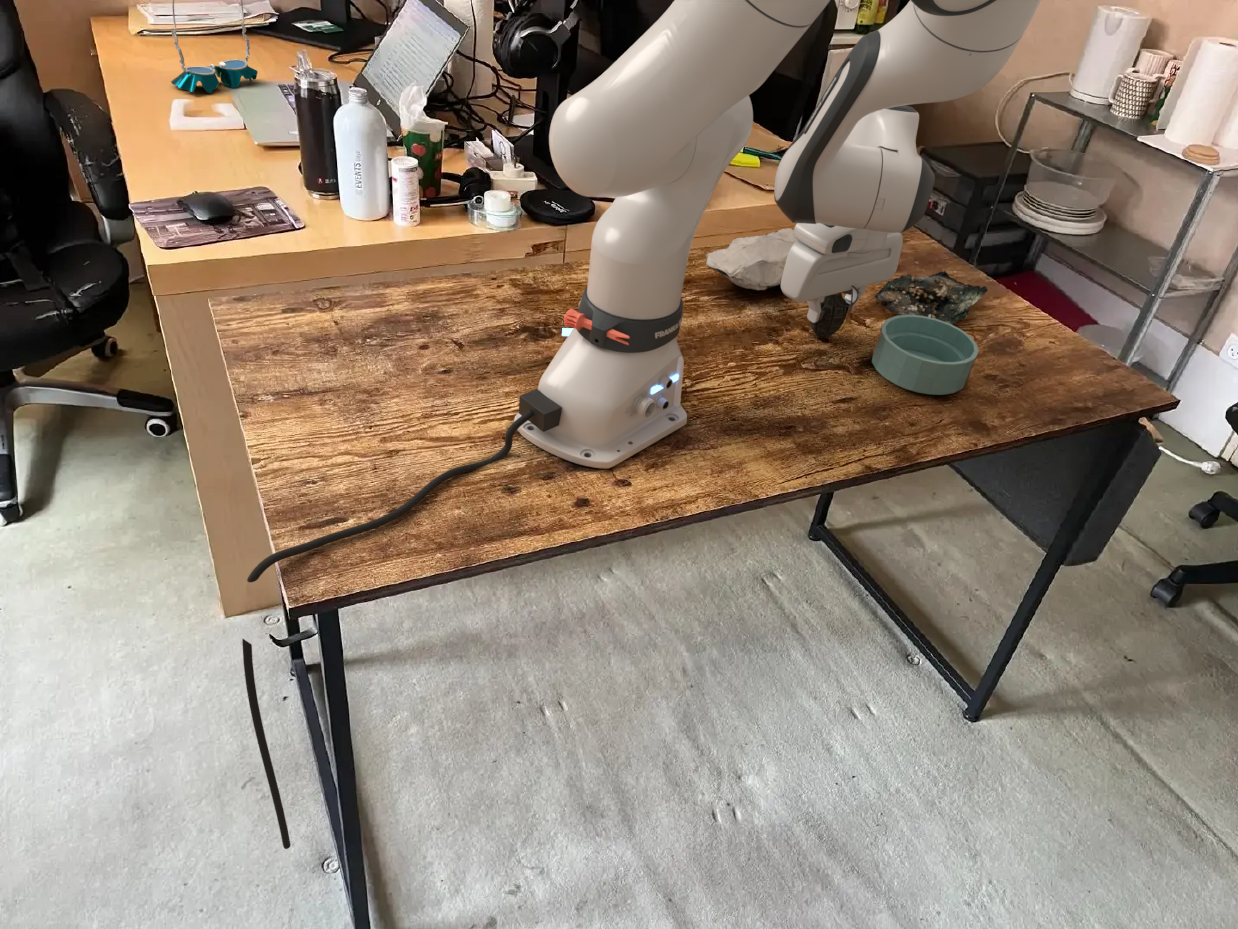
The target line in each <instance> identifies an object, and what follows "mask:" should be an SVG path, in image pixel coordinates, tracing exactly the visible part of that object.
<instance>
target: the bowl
mask: <svg viewBox="0 0 1238 929" xmlns="http://www.w3.org/2000/svg"><path fill="white" fill-rule="evenodd" d="M978 356H979V346H978V344H977V343H976V341H975V340H974V338H973V337H972V336H971V335H970V334H968V333H967V332H965V331H964V330H963V329H961V328H959V327H957V326H956V325H954V324H952V325H951V324H949V323H947V322H944V321H941V320H938V319H935V318H930V317H925V316H920V315H895V316H892V317H890V318H887V319H886V320H884V322H883V323H882V324H881V326H880V329H879V333H878V335H877V338H876V342H875V344H874V347H873V350H872V352H871V363H872V365H873V367H874V369H875V370H876V372H878V373H879V374H880V375H881V376H882V377H883V378H884V379H886V380H888V381H889V382H890V383H892V384H894V385H895V386H898V387H900V388H901V389H902V388H903V389H904V390H908V391H910V392H913V393H918V394H922V395H933V396H935V395H936V396H944V395H951V394H955V393H957V392H958V391H961V390H962V389H964V387H965V385H966V384H967V382H968V381H969V380H968V379H969V377H970V375H971V373H972V370H973V367H974V365H975V362H976V360H977V357H978Z"/></svg>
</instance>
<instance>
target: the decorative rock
mask: <svg viewBox="0 0 1238 929" xmlns="http://www.w3.org/2000/svg"><path fill="white" fill-rule="evenodd" d="M987 292H988V287H987V286H985V285H983V286H982V287H981V285H971V284H965V283H963V282H962V281H958V280H957V279H955V278H954V277H951V276H950V275H949V274H948V272H947V271H946V270H944V271H939V272H936V273H934V274H931V275H929V276H917V275H914V276H913V275H911V274H906V275H901V276H900V277H895V278H893V279H892V280H887V282H885V284H884V286H883V287H881V289H880V290H879V291H878V292H877V293H876V294H875V295H874V298H875V300H878V301H880V302H883V303H886V309H887V310H889V311H891V312H893V313H895V314H897V315H898V316H900V315H920V316H925V317H930V318H935V319H938V320H941V321H944V322H947V323H949V324H951V325H955V324H957V322H958V321H960V320H965V319H966V318H967V316H969V315H970V312H969V308H971V306H974V305H975V304H976V303H977V302H978V301H979V300H980V299H981V298H982V297H984V295H985V294H986V293H987Z"/></svg>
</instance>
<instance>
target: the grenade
mask: <svg viewBox="0 0 1238 929" xmlns="http://www.w3.org/2000/svg"><path fill="white" fill-rule="evenodd" d="M852 287H853V288H855V290H856V291H857V298H856V300H855V301H854V303H855V302H856V301H857V299H858V290H857V289H856V287H854V286H852ZM843 294H845V295H846V294H849V295H851V304H850V305H847V303H846V300H845V299H844V297H843ZM852 300H853V289H852V288H851V290H848V291H844V292H840V293H837V294H833V295H829V296H825V298H824V301H823V302H820V305H821V309H823V310H825V313H824V316H823V320H822V321H819V322H815V323H813V322H811V321H810V320H809V324H810V327H811V330H812V332H813V333H814V334H815V335H816V336H817V338H819V339H825V338H828V337H829V338H830V337H832V336H833V335H834V334H836V333H837V332H838V330H840V332H842V331H843V330H844V328H845V325H844V324H846V323H847V321H848V318H849V315H850V311H849V313H847V307H848V306H850V310H851V306H852V305H853V304H854V303H852ZM857 302H858V301H857ZM857 302H856V303H857ZM846 313H847V314H846Z"/></svg>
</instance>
